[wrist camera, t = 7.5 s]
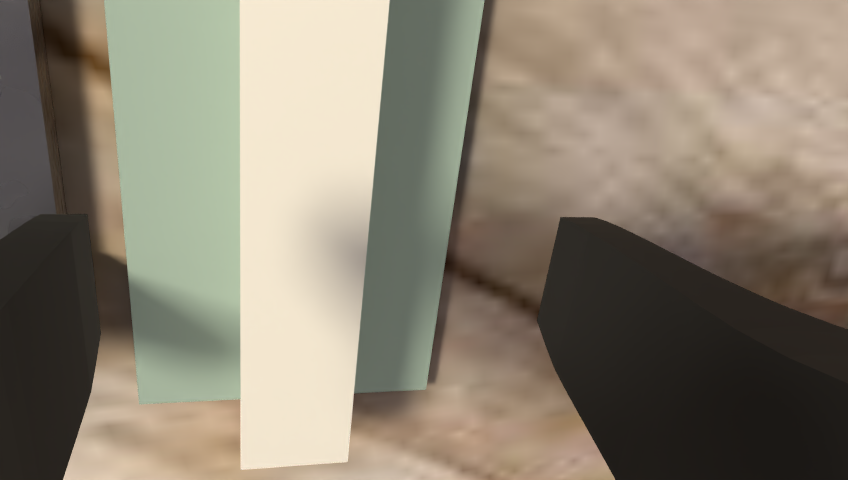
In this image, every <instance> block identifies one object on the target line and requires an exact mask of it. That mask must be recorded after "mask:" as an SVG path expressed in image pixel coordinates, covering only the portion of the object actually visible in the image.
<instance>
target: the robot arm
mask: <svg viewBox="0 0 848 480" xmlns="http://www.w3.org/2000/svg"><path fill="white" fill-rule="evenodd" d="M537 321H538V324H539V327H540V330H541V333H542V336H543V339H544V342H545V345H546V348H547V350H548V353H549V355H550V358H551V361H552V363H553V366H554V368H555V371H556V372H557V374H558V376H559V378H560V380H561V382H562V384H563V386H564V388H565V389H566V391H567V393H568V395H569V397H570V399H571V400H572V402H573V404H574V406H575V408H576V410H577V411H578V413H579V415H580V417H581V419H582V420H583V422H584V424H585V426H586V427H587V429H588V431H589V433H590V435H591V436H592V438H593V440H594V442H595V444H596V445H597V447H598V449H599V451H600V453H601V454H602V456H603V458H604V460H605V461H606V463H607V465H608V467H609V469H610V470H611V472H612V474H613V476H614V478H615V480H848V329H845V328H842V327H839V326H836V325H833V324H830V323H827V322H825V321H822V320H819V319H817V318H814V317H812V316H809V315H806V314H804V313H801V312H798V311H796V310H793V309H790V308H788V307H785V306H783V305H781V304H778V303H776V302H773V301H771V300H769V299H766V298H764V297H762V296H760V295H757V294H755V293H753V292H751V291H749V290H746V289H744V288H742V287H740V286H738V285H735V284H733V283H731V282H729V281H727V280H725V279H723V278H721V277H719V276H716V275H714V274H712V273H710V272H708V271H706V270H704V269H702V268H700V267H698V266H696V265H694V264H692V263H690V262H688V261H686V260H684V259H682V258H681V257H679V256H677V255H675V254H673V253H671V252H669V251H667V250H665V249H663V248H661V247H659V246H657V245H655V244H653V243H651V242H649V241H647V240H645V239H643V238H641V237H639V236H637V235H635V234H633V233H631V232H629V231H627V230H625V229H623V228H621V227H618V226H616V225H614V224H611V223H609V222H606V221H604V220H601V219H598V218H592V217H561V218H560V222H559V227H558V231H557V235H556V240H555V244H554V249H553V253H552V257H551V262H550V266H549V270H548V275H547V279H546V284H545V288H544V292H543V297H542V301H541V305H540V310H539V314H538V319H537ZM100 335H101V331H100V323H99V314H98V305H97V296H96V287H95V278H94V269H93V260H92V251H91V242H90V233H89V224H88V215H87V214H40V215H38V216H36V217H34V218H32V219H31V220H29V221H27V222H26V223H24V224H23V225H21V226H20V227H18V228H17V229H15V230H14V231H12V232H11V233H9V234H8V235H6V236H5V237H3V238H2V239H0V480H63V478H64V474H65V471H66V468H67V465H68V462H69V459H70V456H71V453H72V450H73V447H74V444H75V441H76V438H77V435H78V431H79V428H80V425H81V422H82V419H83V416H84V413H85V409H86V406H87V403H88V400H89V396H90V393H91V389H92V383H93V378H94V372H95V366H96V360H97V354H98V347H99V341H100Z"/></svg>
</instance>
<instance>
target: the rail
mask: <svg viewBox="0 0 848 480" xmlns="http://www.w3.org/2000/svg"><path fill="white" fill-rule="evenodd" d="M389 3H390V0H240V376H241V470H245V469H258V468H272V467H285V466H299V465H312V464H326V463H340V462H348V452H349V441H350V430H351V419H352V408H353V397H354V386H355V375H356V364H357V353H358V342H359V331H360V320H361V309H362V298H363V287H364V276H365V265H366V254H367V244H368V233H369V222H370V211H371V200H372V189H373V178H374V167H375V156H376V145H377V134H378V123H379V112H380V101H381V90H382V79H383V68H384V57H385V46H386V35H387V24H388V13H389Z"/></svg>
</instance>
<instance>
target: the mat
mask: <svg viewBox="0 0 848 480" xmlns="http://www.w3.org/2000/svg"><path fill="white" fill-rule="evenodd" d="M104 4H105V16H106V27H107V39H108V50H109V62H110V73H111V85H112V96H113V108H114V119H115V131H116V142H117V154H118V165H119V177H120V188H121V200H122V211H123V223H124V234H125V246H126V257H127V269H128V280H129V292H130V303H131V315H132V327H133V338H134V350H135V361H136V373H137V384H138V396H139V404H155V403H175V402H194V401H214V400H233V399H241V376H240V0H104ZM483 7H484V0H390V3H389V13H388V24H387V35H386V46H385V57H384V68H383V79H382V90H381V101H380V112H379V123H378V134H377V145H376V156H375V167H374V178H373V189H372V200H371V211H370V222H369V233H368V244H367V254H366V265H365V276H364V287H363V298H362V309H361V320H360V331H359V342H358V353H357V364H356V375H355V386H354V393H369V392H389V391H408V390H426V386H427V379H428V373H429V366H430V359H431V353H432V346H433V339H434V333H435V326H436V319H437V313H438V306H439V299H440V293H441V286H442V280H443V273H444V266H445V260H446V253H447V246H448V240H449V233H450V226H451V220H452V213H453V206H454V200H455V193H456V186H457V180H458V173H459V166H460V160H461V153H462V147H463V140H464V133H465V127H466V120H467V113H468V107H469V100H470V93H471V87H472V80H473V73H474V67H475V60H476V53H477V47H478V40H479V33H480V27H481V20H482V14H483Z"/></svg>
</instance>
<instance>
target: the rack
mask: <svg viewBox="0 0 848 480" xmlns="http://www.w3.org/2000/svg"><path fill="white" fill-rule="evenodd" d="M40 214H67V213H66V205H65V197H64V189H63V181H62V173H61V166H60V158H59V150H58V142H57V134H56V126H55V118H54V111H53V103H52V95H51V87H50V79H49V71H48V63H47V56H46V48H45V40H44V32H43V24H42V16H41V8H40V1H39V0H0V239H2V238H3V237H5V236H6V235H8V234H9V233H11V232H12V231H14V230H15V229H17V228H18V227H20V226H21V225H23V224H24V223H26V222H27V221H29V220H31V219H32V218H34V217H36V216H38V215H40Z"/></svg>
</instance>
